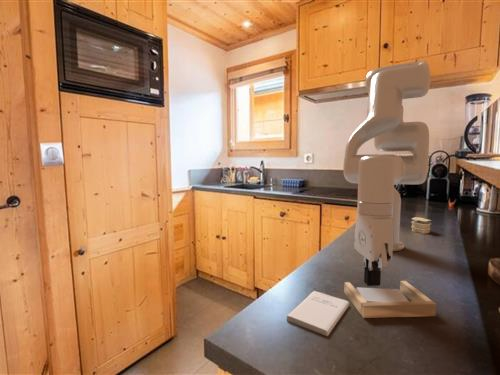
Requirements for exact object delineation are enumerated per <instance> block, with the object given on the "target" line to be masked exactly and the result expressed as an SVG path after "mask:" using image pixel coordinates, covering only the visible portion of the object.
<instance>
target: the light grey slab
mask: <svg viewBox="0 0 500 375" xmlns="http://www.w3.org/2000/svg"><path fill="white" fill-rule="evenodd" d="M355 289H356V290H357V291H358V293H359V294H360V295H361V296H362V297H363V298H364V299H365V301H366V302H367V303H368V302H407V301H409V300H408V298H407V297H406V296H405V295H404V294H403V293H402V292H400V288H379V287H377V288H375V287H356V288H355Z"/></svg>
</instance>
